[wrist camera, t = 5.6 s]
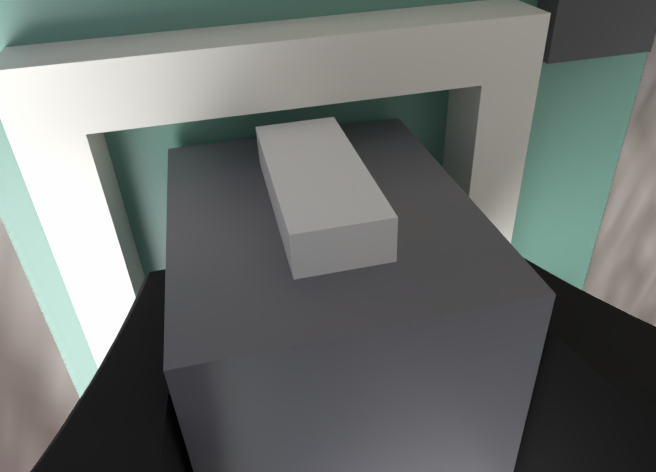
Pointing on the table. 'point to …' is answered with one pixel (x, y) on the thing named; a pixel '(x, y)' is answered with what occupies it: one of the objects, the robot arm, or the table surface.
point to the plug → (343, 307)
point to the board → (297, 105)
